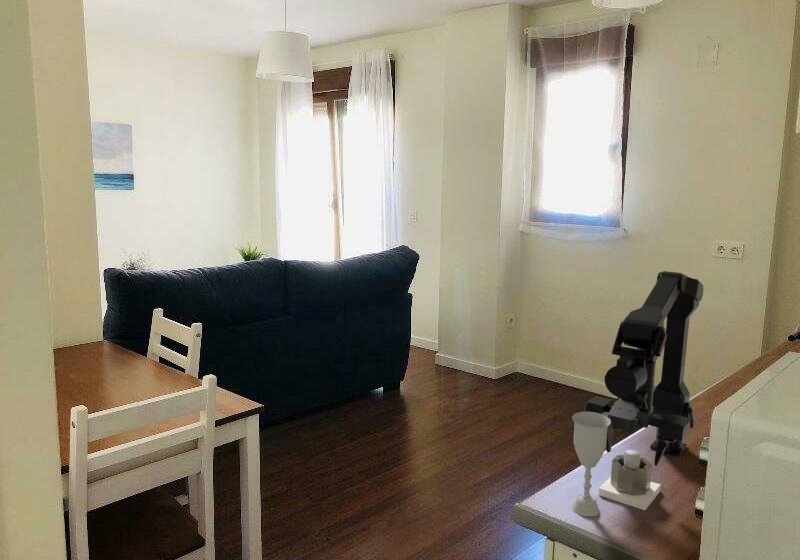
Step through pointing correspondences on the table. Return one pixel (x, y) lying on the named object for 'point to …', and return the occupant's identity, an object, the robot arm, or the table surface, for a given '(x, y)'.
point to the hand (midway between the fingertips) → (632, 458)
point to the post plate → (635, 500)
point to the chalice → (589, 454)
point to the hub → (631, 476)
